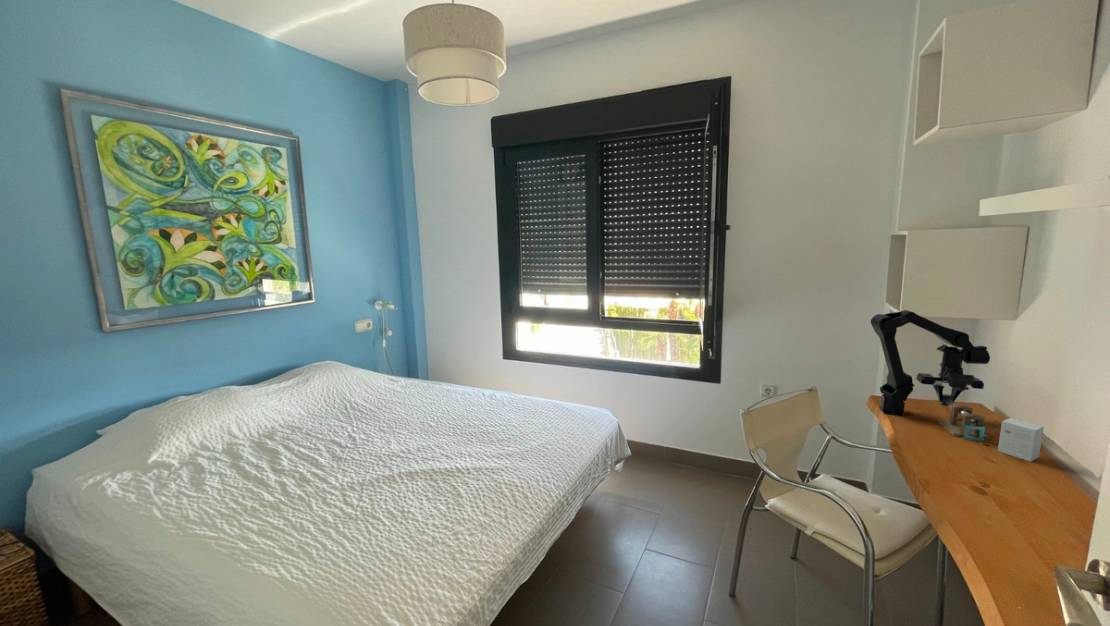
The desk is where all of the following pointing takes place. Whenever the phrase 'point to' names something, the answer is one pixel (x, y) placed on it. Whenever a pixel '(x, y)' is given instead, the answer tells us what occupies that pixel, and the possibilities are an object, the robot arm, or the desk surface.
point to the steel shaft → (948, 401)
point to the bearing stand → (962, 422)
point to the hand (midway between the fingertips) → (946, 402)
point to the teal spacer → (979, 438)
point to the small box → (1020, 439)
